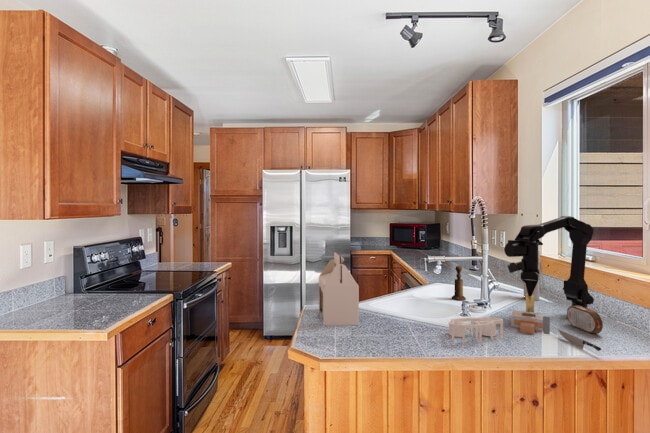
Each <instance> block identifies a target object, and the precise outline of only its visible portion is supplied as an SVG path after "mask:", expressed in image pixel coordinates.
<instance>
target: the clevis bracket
mask: <svg viewBox="0 0 650 433" xmlns="http://www.w3.org/2000/svg"><path fill="white" fill-rule="evenodd" d="M543 316H544V313H540V312H534V313H532V312H526V311H522V310H514V309H513V310H512V313H511V315H510V327H513V328H519V329H520V330H519V333H521V334H528V335H535V333H536V331H537V332H543Z"/></svg>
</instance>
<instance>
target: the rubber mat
mask: <svg viewBox="0 0 650 433" xmlns="http://www.w3.org/2000/svg"><path fill="white" fill-rule="evenodd" d="M550 320H551V319H550V316H544V315H543V334H546V335H550V334H551V330H550V327H551V326H550V324H551V321H550Z"/></svg>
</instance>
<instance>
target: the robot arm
mask: <svg viewBox="0 0 650 433" xmlns="http://www.w3.org/2000/svg"><path fill="white" fill-rule="evenodd" d="M559 229H564V230H565V231H567V232H568V237H569V239H570V241H571V243H572V247H571V248H572V251H571V262H570V274H569V278H567V280H564V281H563V288H562V290H563V293H564V295H565V298H566V301H571V306H576V305H579V306H582V307H585V308H588V309H589V305H592V304H593V305H594V301H595V298H594V297H593V296H592V295H591V294H590V293H589V287H588V286H589V285H588V283H587V281H586V280H585V273H586V272H585V270H586V257H587V247H588V244H589V243H590V242H591V240H592V239H593V234H594V227H593V226H592V225H591V224H589V223H586V222H584V221H582V220H579V219H577V218H575V217H574V216H572V215H562V216H560V217H558V218H554V219H552V220H549V221H546V222H545V221H544V222H542V223H539V224H527V225H523V226H521V227H520V230H519V233H518V234H517V235H516V236H515V238H514V240H513V239H508V240H507V243H505V245H504V247H503V248H504V250H503V251H504V254H505V255H506V257H509V258H514V257H517V258H518V257H522V258H521V261H518V262H517V261H516V262H515V261H513V262H510V263H509V264H507V270H508V271H509V273H510V274H512V273H514V272H518V271H521V273H520V279H521V281H522V282H523V283H524V282H525V284H526V288H527V292H528V296H532V294H533V291H534V289H535V287H536V285H537V283H538V280H539V269H538V251H539V246H543V245H544V243H543V242H542V241H540V239H542V238H543V237H544V236H546V235H547V234H548V233H551V232H554V231H556V230H557V231H558V230H559Z"/></svg>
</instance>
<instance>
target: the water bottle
mask: <svg viewBox="0 0 650 433" xmlns="http://www.w3.org/2000/svg"><path fill="white" fill-rule="evenodd" d="M540 254H541V253H540V250H538V269H539V280H538V283H537V285H536V287H535V289H534V291H533V295H534V302H536V301H537V300H538V301H539V300H540V291H544V279H543V278H544V276H543V269H542V263H543V262H542V260H541V257H540V256H541V255H540ZM541 282H542V288H541ZM526 294H528V292H527V288H526V284H525V282H523V297H524V296H525V298H526Z"/></svg>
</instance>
